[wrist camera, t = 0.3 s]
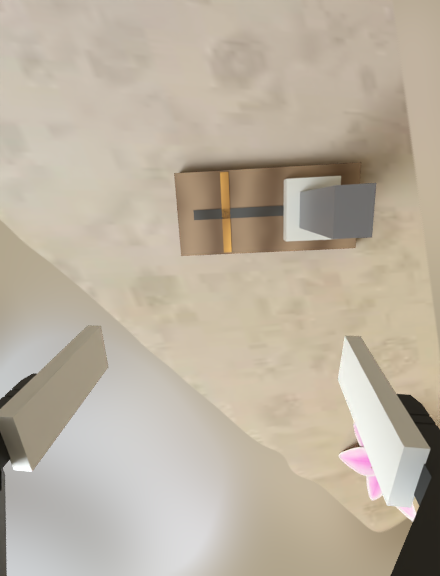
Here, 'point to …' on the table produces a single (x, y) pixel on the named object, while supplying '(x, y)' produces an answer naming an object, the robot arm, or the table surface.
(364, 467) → the lily
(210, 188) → the board
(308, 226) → the slider
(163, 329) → the table surface
